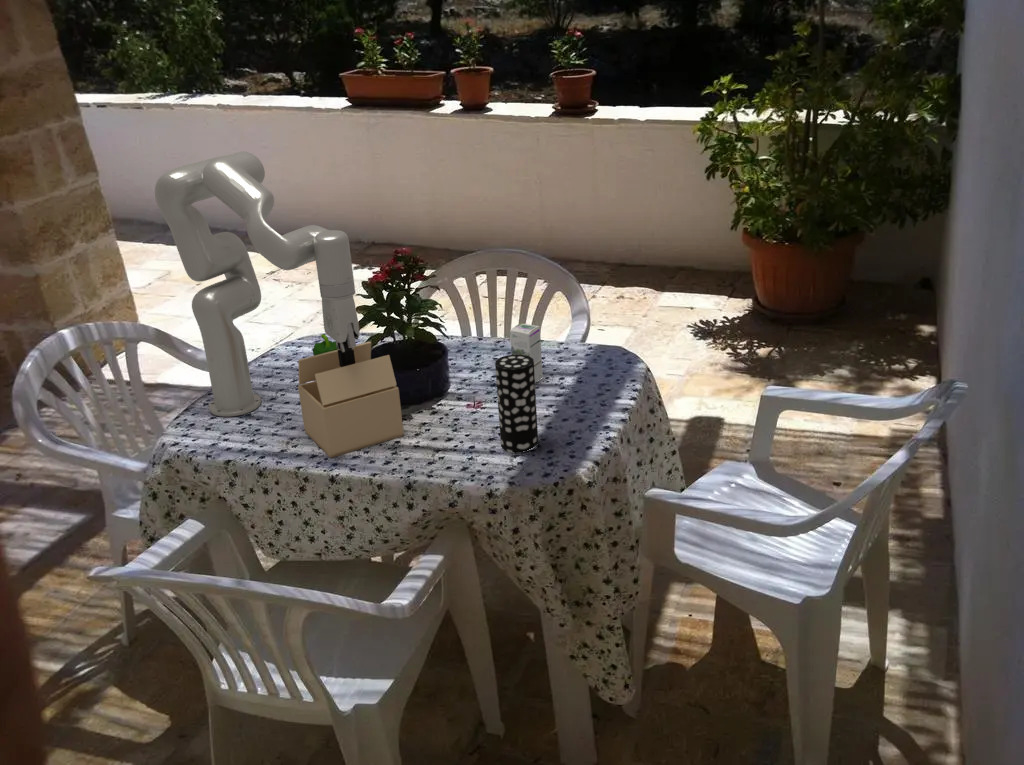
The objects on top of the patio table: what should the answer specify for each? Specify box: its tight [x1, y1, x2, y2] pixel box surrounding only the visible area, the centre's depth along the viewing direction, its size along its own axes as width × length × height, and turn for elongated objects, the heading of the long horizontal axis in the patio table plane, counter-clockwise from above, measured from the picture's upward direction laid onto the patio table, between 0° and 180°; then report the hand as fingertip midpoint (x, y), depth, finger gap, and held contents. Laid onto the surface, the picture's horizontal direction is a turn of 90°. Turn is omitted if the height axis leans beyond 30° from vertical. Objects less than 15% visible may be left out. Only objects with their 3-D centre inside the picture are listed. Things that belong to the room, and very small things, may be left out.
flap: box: [297, 341, 372, 385], centre depth 241 cm, size 7×18×1 cm
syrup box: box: [509, 322, 544, 382], centre depth 262 cm, size 6×6×14 cm
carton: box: [297, 380, 405, 459], centre depth 240 cm, size 16×18×12 cm
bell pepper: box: [312, 333, 338, 356], centre depth 276 cm, size 8×8×10 cm
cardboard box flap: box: [315, 354, 397, 405], centre depth 231 cm, size 7×18×1 cm
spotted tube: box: [494, 354, 539, 454], centre depth 229 cm, size 8×8×20 cm
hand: (347, 366), depth 234 cm, fingers closed
